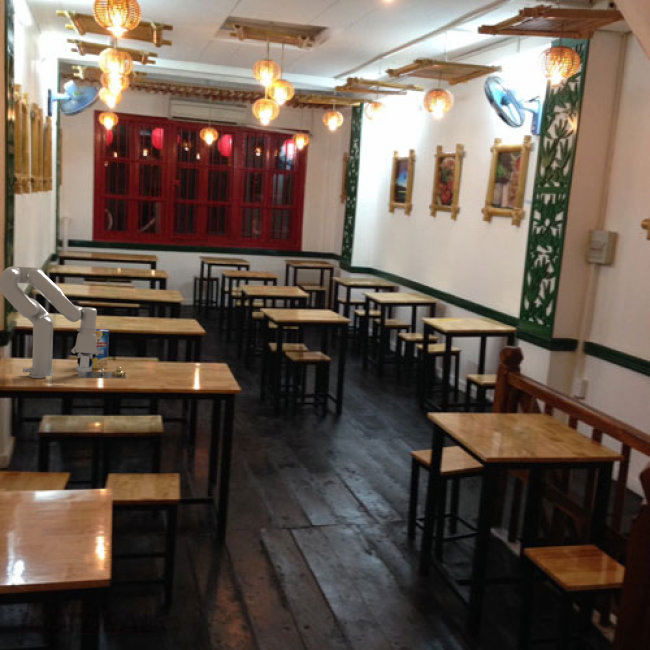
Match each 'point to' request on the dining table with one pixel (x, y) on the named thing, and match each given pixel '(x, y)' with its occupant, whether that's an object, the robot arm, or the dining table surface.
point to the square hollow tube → (84, 364)
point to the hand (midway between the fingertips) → (84, 365)
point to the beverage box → (101, 349)
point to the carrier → (103, 374)
